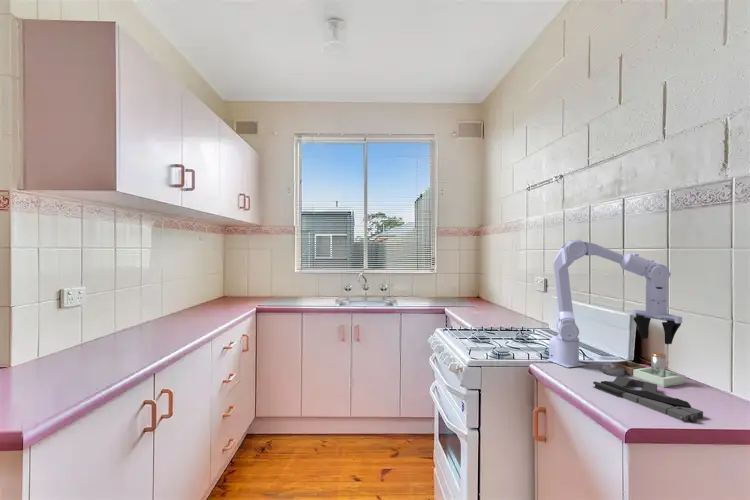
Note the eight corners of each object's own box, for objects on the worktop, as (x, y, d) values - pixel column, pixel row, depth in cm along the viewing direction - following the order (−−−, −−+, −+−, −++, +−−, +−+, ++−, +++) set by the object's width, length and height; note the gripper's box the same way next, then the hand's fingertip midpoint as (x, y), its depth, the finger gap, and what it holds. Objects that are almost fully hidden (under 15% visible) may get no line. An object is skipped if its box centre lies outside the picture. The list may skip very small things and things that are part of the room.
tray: (633, 377, 121) (633, 369, 121) (653, 374, 124) (653, 366, 124) (663, 387, 112) (663, 379, 112) (684, 383, 115) (684, 375, 115)
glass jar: (648, 377, 119) (648, 353, 119) (656, 376, 120) (656, 352, 120) (660, 381, 116) (660, 356, 116) (668, 379, 117) (668, 355, 117)
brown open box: (597, 371, 127) (597, 362, 127) (626, 366, 131) (626, 358, 131) (616, 377, 120) (616, 369, 120) (647, 373, 125) (647, 364, 125)
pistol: (626, 374, 119) (590, 380, 113) (726, 406, 95) (687, 416, 89) (626, 381, 119) (590, 388, 113) (726, 415, 95) (687, 425, 89)
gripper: (688, 302, 120) (688, 345, 120) (643, 296, 133) (643, 335, 134) (673, 303, 117) (673, 347, 118) (628, 297, 131) (628, 336, 131)
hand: (656, 341), depth 125 cm, fingers open, 7 cm apart
